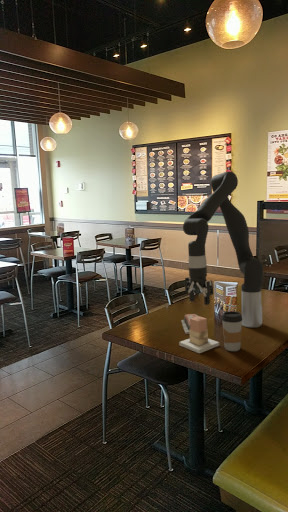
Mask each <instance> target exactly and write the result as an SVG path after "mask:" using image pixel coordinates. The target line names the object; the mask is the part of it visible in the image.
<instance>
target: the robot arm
mask: <svg viewBox="0 0 288 512" xmlns="http://www.w3.org/2000/svg"><path fill="white" fill-rule="evenodd" d="M238 179H239V178H238V177H237V174H236V173H235V172H233V171H224V172H222V173H219V174H216V175H213V176H212V177H211V179H210V188H211V189H212V192H213V193H211V194H210V195H208V196H207V197H206V198H205V199H204V200H203V201H202V202H201V204H199V206H198V208H197V209H196V210H195V211H194V212H193V213H192V214H190V215H189V216H188V217H187V218H186V219H185V220H184V222H183V224H182V230H183V232H184V234H186V235H188V236H196V238H195V240H192V241H189V242H188V245H187V246H188V247H187V248H188V249H187V250H188V276H187V277H185V278H184V287H185V288H184V290H185V291H186V292H188V295H189V296H188V297H189V302H192V303H193V302H195V290H198V291H200V292H201V293H202V294H203V296H204V297H203V300H204V303H203V304H204V305H205V306H208V305H210V303H211V299H210V298H211V297H210V296H213V295H214V286H213V285H214V283H213V280H207V276H208V269H207V268H208V265H207V264H208V263H207V257H206V242H207V238H208V232H209V223H208V222H210V221H211V220H212V219H213V216H214V215H215V213H216V212H217V211H218V209H219V208H220V211H221V214H222V217H223V219H224V222H225V226H226V229H227V232H228V235H229V238H230V240H231V244H232V246H233V249H234V251H235V254H236V259H237V260H236V261H237V265H238V268H239V272H241V273H242V275H243V278H244V279H243V283H242V284H241V289H240V290H241V316H242V327H245V328H260V327H261V326H262V324H263V304H262V287H263V285H264V284H263V283H264V266H263V263H262V261H261V260H260V259H259V258H255V256H254V255H253V252H252V249H251V247H250V232H249V226H248V223H247V220H246V218H245V216H244V214H243V213H242V212H241V211H240V210H239V208H237V207H236V206H235V205H233V203H232V201H231V200H230V199H229V196H230V195H232V193H233V192H234V191H235V190H236V189H237V187H238V184H239V180H238Z"/></svg>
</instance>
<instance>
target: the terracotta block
mask: <svg viewBox="0 0 288 512" xmlns="http://www.w3.org/2000/svg"><path fill="white" fill-rule="evenodd" d="M190 330H192V331H195V332H198V333H200V332H203V331H205V330H208V318H206V317H202V316H200V315H198V316H197V317H194V318H191V319H190Z"/></svg>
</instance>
